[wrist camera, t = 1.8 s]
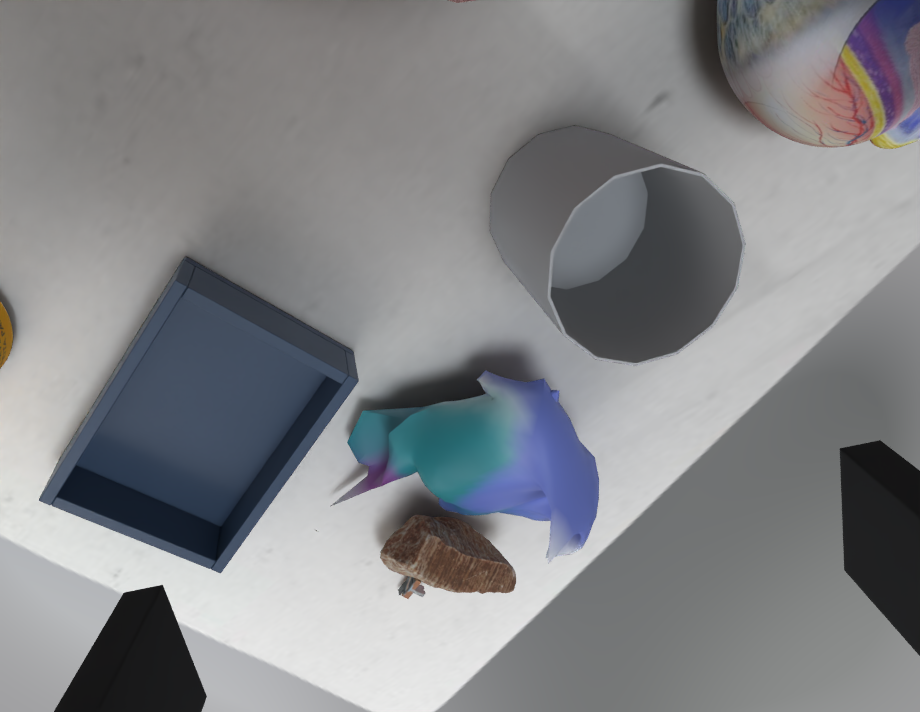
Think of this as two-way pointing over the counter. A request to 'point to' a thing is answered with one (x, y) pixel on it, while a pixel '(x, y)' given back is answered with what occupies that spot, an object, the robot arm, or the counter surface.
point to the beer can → (5, 335)
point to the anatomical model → (826, 68)
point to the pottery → (460, 0)
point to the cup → (617, 243)
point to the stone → (448, 556)
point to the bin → (202, 420)
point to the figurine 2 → (488, 457)
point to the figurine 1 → (411, 587)
